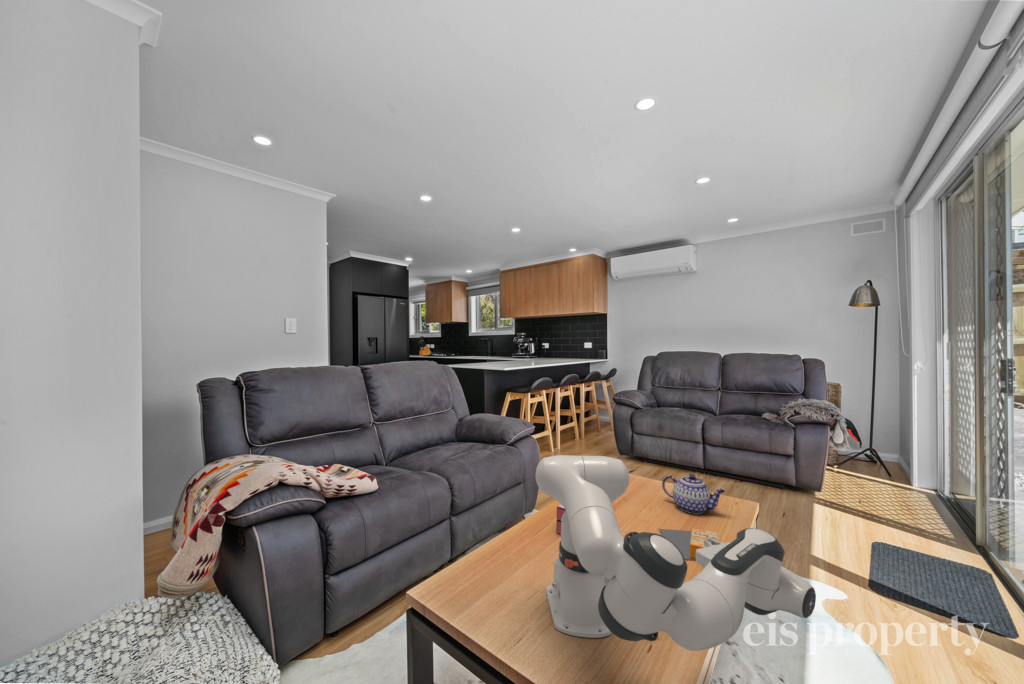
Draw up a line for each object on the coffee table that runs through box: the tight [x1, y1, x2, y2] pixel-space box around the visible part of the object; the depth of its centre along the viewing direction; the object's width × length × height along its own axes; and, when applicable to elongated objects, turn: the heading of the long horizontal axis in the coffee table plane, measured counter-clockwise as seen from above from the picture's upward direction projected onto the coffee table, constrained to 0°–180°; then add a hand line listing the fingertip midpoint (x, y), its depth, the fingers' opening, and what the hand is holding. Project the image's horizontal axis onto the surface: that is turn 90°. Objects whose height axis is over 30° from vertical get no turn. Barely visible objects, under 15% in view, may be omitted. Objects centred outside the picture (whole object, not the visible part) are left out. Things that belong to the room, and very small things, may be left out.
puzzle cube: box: [555, 504, 566, 535], centre depth 143 cm, size 10×10×10 cm
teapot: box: [661, 473, 726, 515], centre depth 164 cm, size 25×15×15 cm, turn 46°
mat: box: [658, 528, 696, 562], centre depth 135 cm, size 20×14×1 cm
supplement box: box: [690, 527, 719, 559], centre depth 130 cm, size 8×5×13 cm
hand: (707, 541), depth 118 cm, fingers closed
